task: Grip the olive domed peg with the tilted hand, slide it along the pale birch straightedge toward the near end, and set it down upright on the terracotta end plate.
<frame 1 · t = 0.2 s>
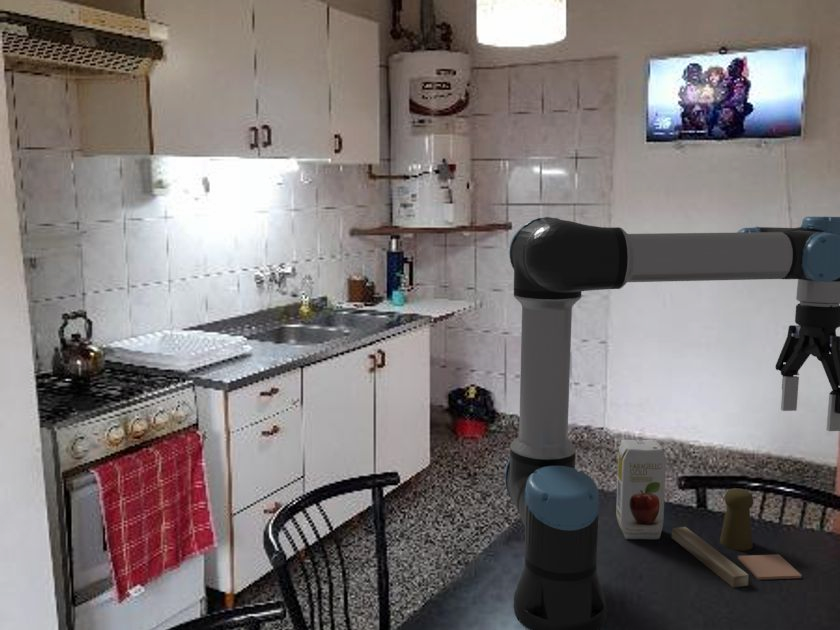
hand: (810, 420, 139), 28 cm above the table, tool pointing down, fingers open, 13 cm apart
juice carton: (638, 533, 156), on the table
straightedge: (707, 559, 144), on the table
end plate: (768, 567, 141), on the table
olive domed peg: (736, 544, 151), on the table
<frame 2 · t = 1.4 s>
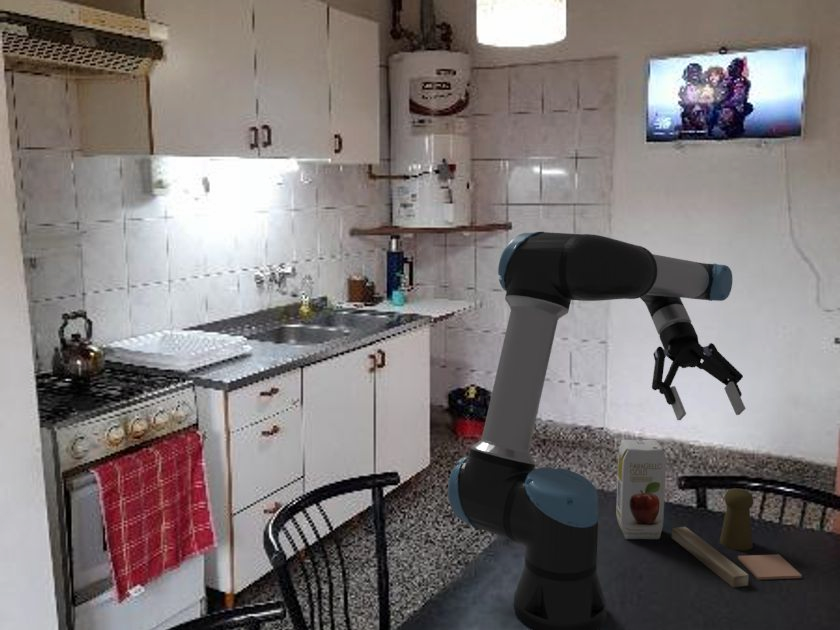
hand: (711, 414, 157), 23 cm above the table, tool tilted 45°, fingers open, 13 cm apart
nothing on the table moved.
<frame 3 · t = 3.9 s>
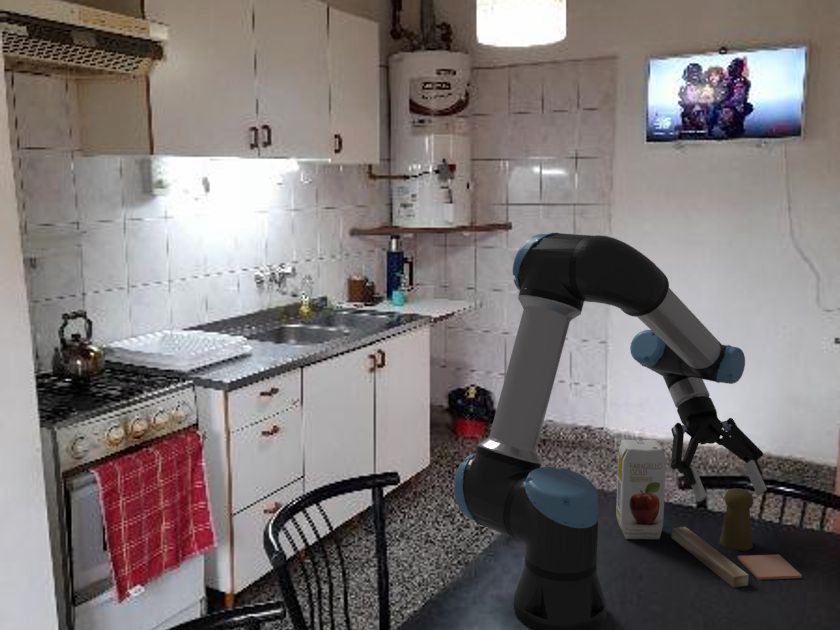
hand: (732, 496, 153), 8 cm above the table, tool tilted 45°, fingers open, 13 cm apart
nothing on the table moved.
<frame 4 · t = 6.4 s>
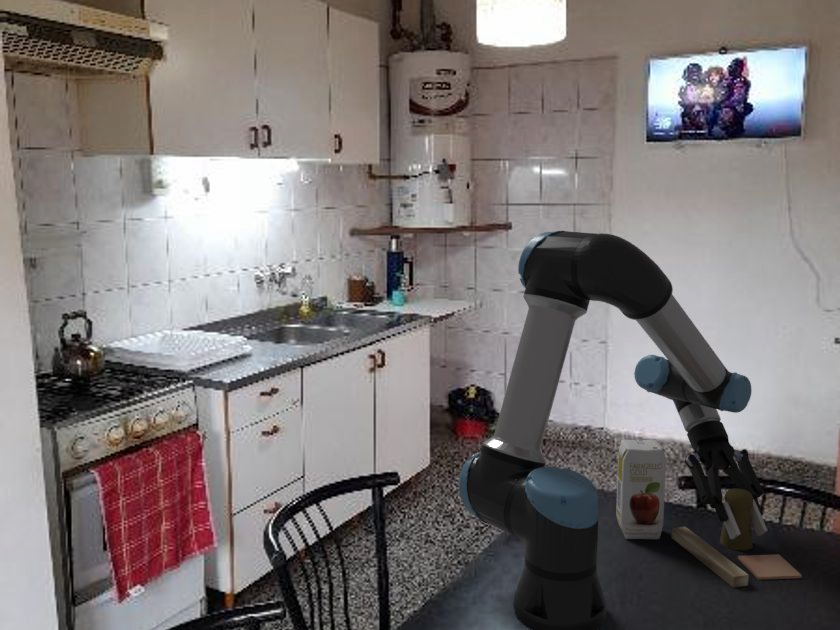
hand: (749, 534, 147), 4 cm above the table, tool tilted 45°, fingers closed on olive domed peg, 5 cm apart
olive domed peg: (736, 544, 151), on the table, touching gripper
everything else where it was.
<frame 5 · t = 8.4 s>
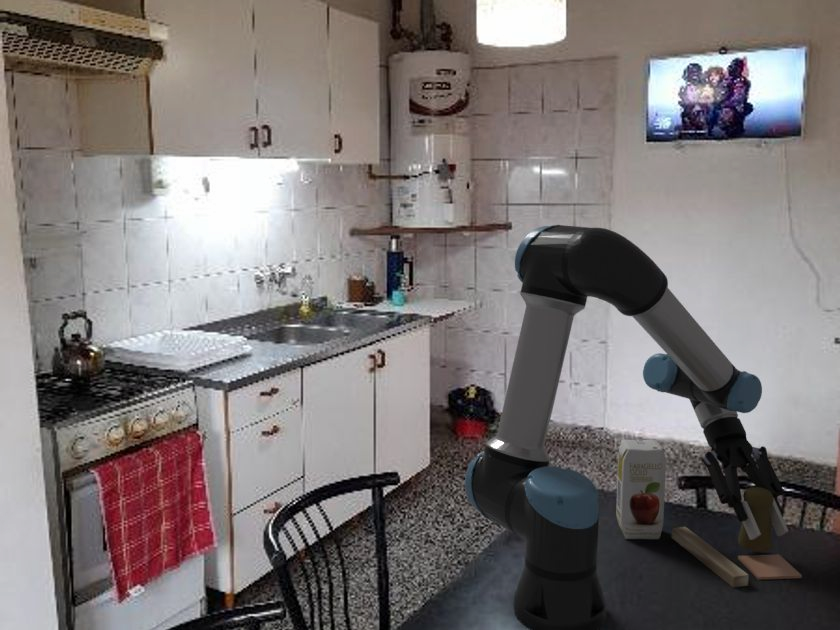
hand: (769, 535, 142), 6 cm above the table, tool tilted 45°, fingers closed on olive domed peg, 5 cm apart
olive domed peg: (754, 544, 146), point 2 cm above the table, touching gripper
everything else where it was.
when the fingers open (5 cm above the table, at t = 10.3 s): olive domed peg drops 1 cm, resting on end plate.
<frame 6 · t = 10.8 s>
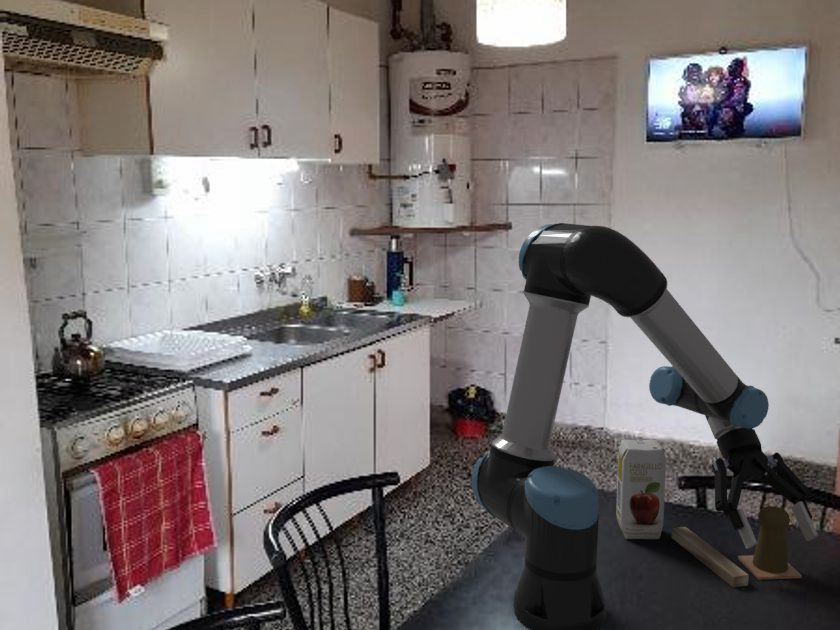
hand: (782, 542, 138), 6 cm above the table, tool tilted 45°, fingers open, 12 cm apart
olive domed peg: (770, 566, 141), resting on end plate
everything else where it was.
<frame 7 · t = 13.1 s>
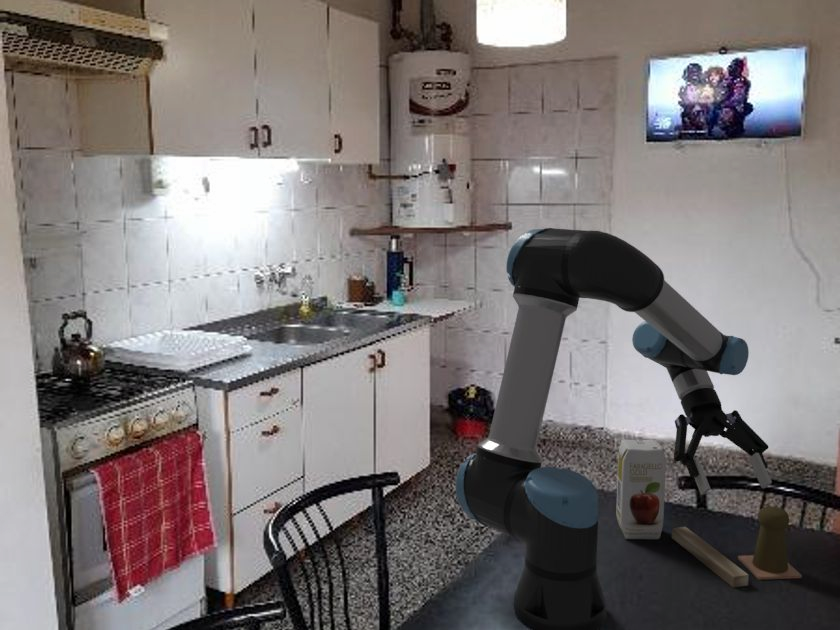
hand: (736, 488, 150), 11 cm above the table, tool tilted 45°, fingers open, 13 cm apart
nothing on the table moved.
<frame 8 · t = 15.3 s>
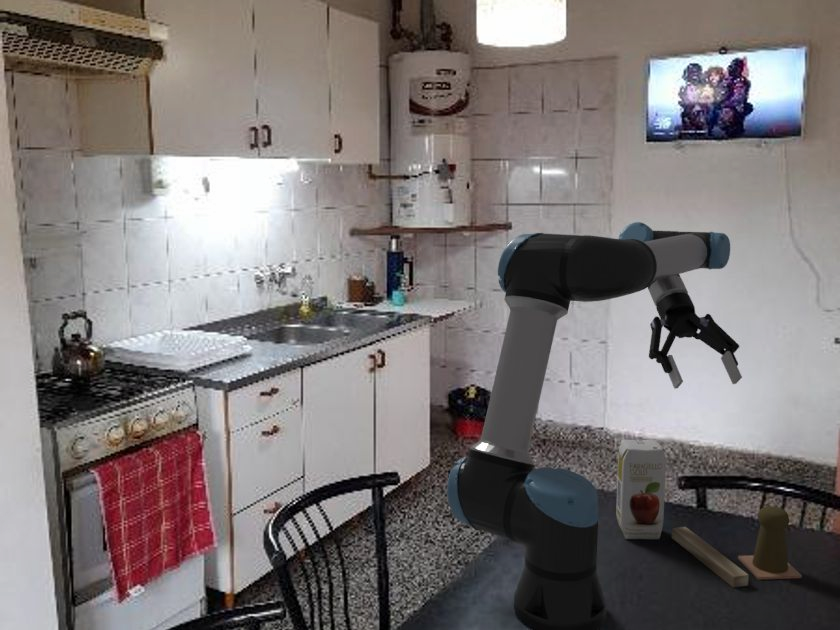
hand: (708, 383, 158), 30 cm above the table, tool tilted 45°, fingers open, 13 cm apart
nothing on the table moved.
at the end: olive domed peg inside the target area (0.0 cm from its centre), resting on end plate; olive domed peg tilted 0°; the gripper is holding nothing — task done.
